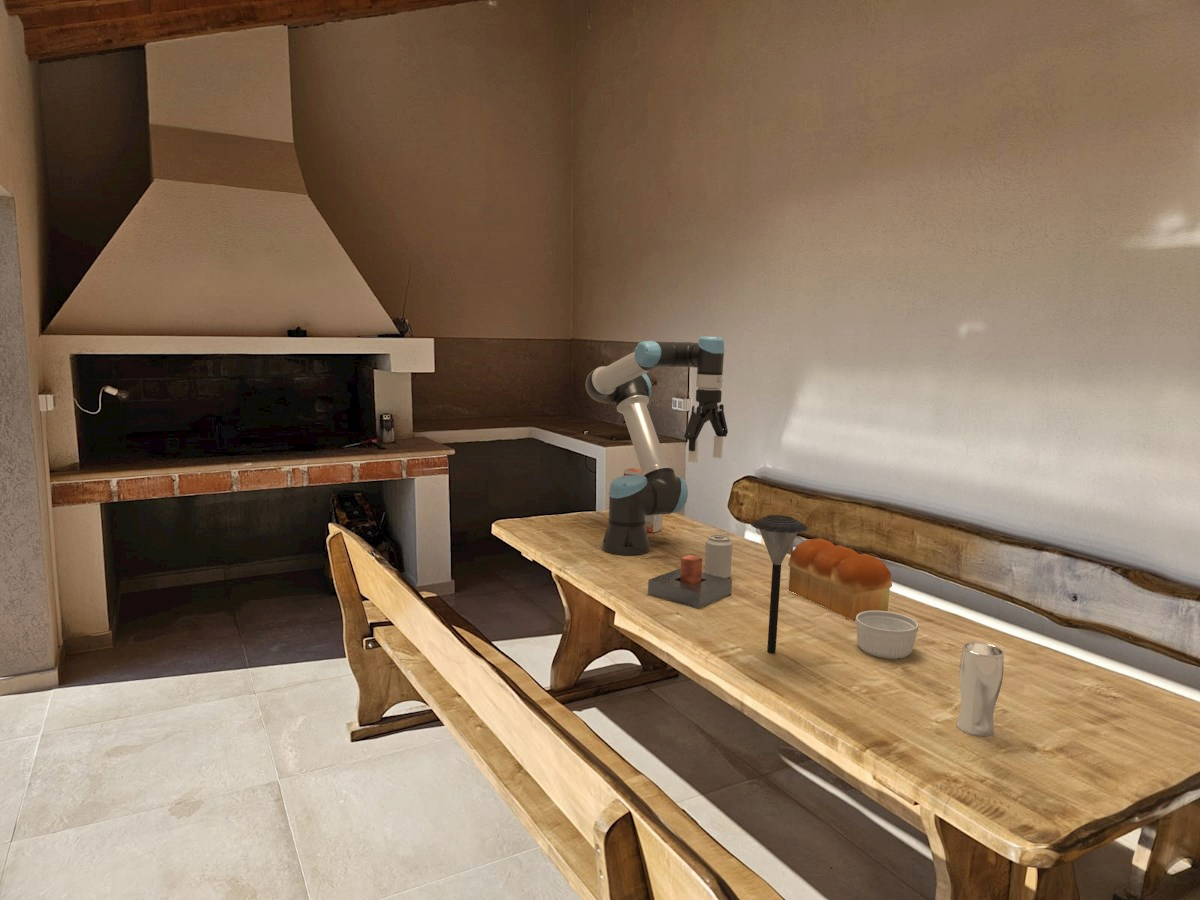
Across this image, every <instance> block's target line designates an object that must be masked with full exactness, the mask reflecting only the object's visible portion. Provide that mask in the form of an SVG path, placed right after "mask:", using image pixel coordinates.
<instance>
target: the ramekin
mask: <svg viewBox="0 0 1200 900" xmlns="http://www.w3.org/2000/svg"><path fill="white" fill-rule="evenodd" d="M854 621H855V626H856V641H857V645H858V646H859V648H860V649H861V651H863V652H865V653H866V654H868V655H871V656H872V657H873V656H874V657H878V658H883V659H889V660H890V659H891V660H892V659H893V660H895V659H897V660H898V658H900V659H903V658H907V657H908V656H909V655H911V653H912V651H913V650H914V647H915V642H916V636H917V633H918V632H919V624H918V621H916V620H915V619H913V618H912V617H909V616H907V615H904V614H901V613H897V612H893V611H889V610H888V611H865V612H861V613H859V614H857V616H856V619H855V620H854Z"/></svg>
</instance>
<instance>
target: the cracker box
mask: <svg viewBox="0 0 1200 900" xmlns="http://www.w3.org/2000/svg"><path fill="white" fill-rule="evenodd" d="M626 475H641V476H642V475H643V473H642V470H641V468H634V467H633V468H627V469H624V470H623V476H626ZM663 516H664V514H659V515H648V516H645V529H646V532H647V533H649V532H650V533H649V534H655V533H659V532H662V531H663ZM661 530H662V531H661ZM658 531H659V532H658ZM654 532H655V533H654Z"/></svg>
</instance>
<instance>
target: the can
mask: <svg viewBox="0 0 1200 900" xmlns="http://www.w3.org/2000/svg"><path fill="white" fill-rule="evenodd" d="M704 553H705V554H704V555H705V557H704V572H703V573H706V574H710V575H714V576H719V577H723V578H727V579H729V578H730V577H731V574H732V559H733V558H732V557H733V542H732V540H731V536H729V535H725V534H718V533H717V534H715V533H714V534H710V535H708V539H706V541H705V551H704Z"/></svg>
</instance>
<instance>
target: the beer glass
mask: <svg viewBox="0 0 1200 900" xmlns="http://www.w3.org/2000/svg"><path fill="white" fill-rule="evenodd" d="M1004 654H1005V651H1004V650H1003V649H1001V647H998V646H997V645H994V644H990V643H986V642H979V641H970V642H969V641H968V642H965V643H963V645H962V651H961V656H960V662H959V670H958V671H959V674H958V675H959V677H958V678H959V679H958V680H959V689H960V690H959V691H960V704H961V705H960V711H959V715H958V717H957V722H956V726H957V728H958V730H960V731H962V732H964V733H966V734H968V735H971V736H975V737H981V738H982V737H983V738H987V737H991V736H993V735H994V734H995V723H994V712H995V707H996V706H997V701H998V697H999V695H1000V691H1001V689H1002V684H1003V677H1004V664H1005V663H1004V660H1005V659H1004V658H1005V657H1004V656H1005V655H1004Z"/></svg>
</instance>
